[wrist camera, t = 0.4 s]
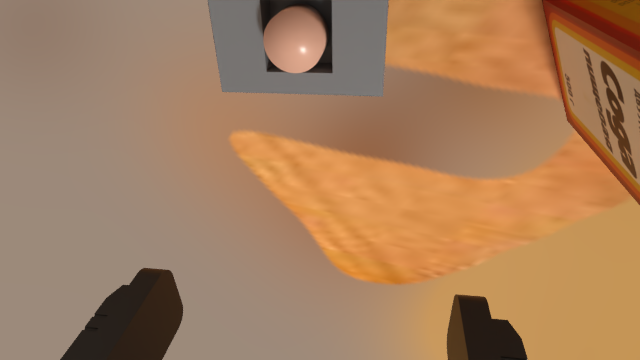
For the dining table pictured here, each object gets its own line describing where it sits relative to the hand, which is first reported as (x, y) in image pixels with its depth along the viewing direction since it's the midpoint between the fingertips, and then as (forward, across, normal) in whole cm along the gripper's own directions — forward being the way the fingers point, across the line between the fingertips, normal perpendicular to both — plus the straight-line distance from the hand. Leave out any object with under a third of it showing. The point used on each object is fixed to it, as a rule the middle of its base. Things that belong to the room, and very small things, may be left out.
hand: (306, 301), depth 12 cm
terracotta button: (+22, +4, -2) cm, 22 cm away
